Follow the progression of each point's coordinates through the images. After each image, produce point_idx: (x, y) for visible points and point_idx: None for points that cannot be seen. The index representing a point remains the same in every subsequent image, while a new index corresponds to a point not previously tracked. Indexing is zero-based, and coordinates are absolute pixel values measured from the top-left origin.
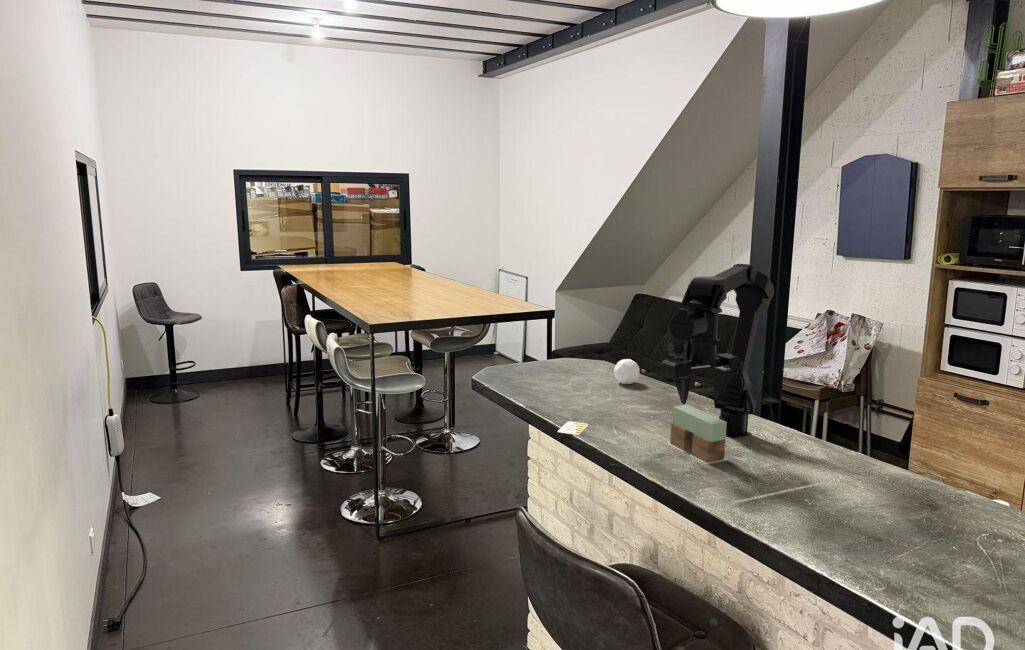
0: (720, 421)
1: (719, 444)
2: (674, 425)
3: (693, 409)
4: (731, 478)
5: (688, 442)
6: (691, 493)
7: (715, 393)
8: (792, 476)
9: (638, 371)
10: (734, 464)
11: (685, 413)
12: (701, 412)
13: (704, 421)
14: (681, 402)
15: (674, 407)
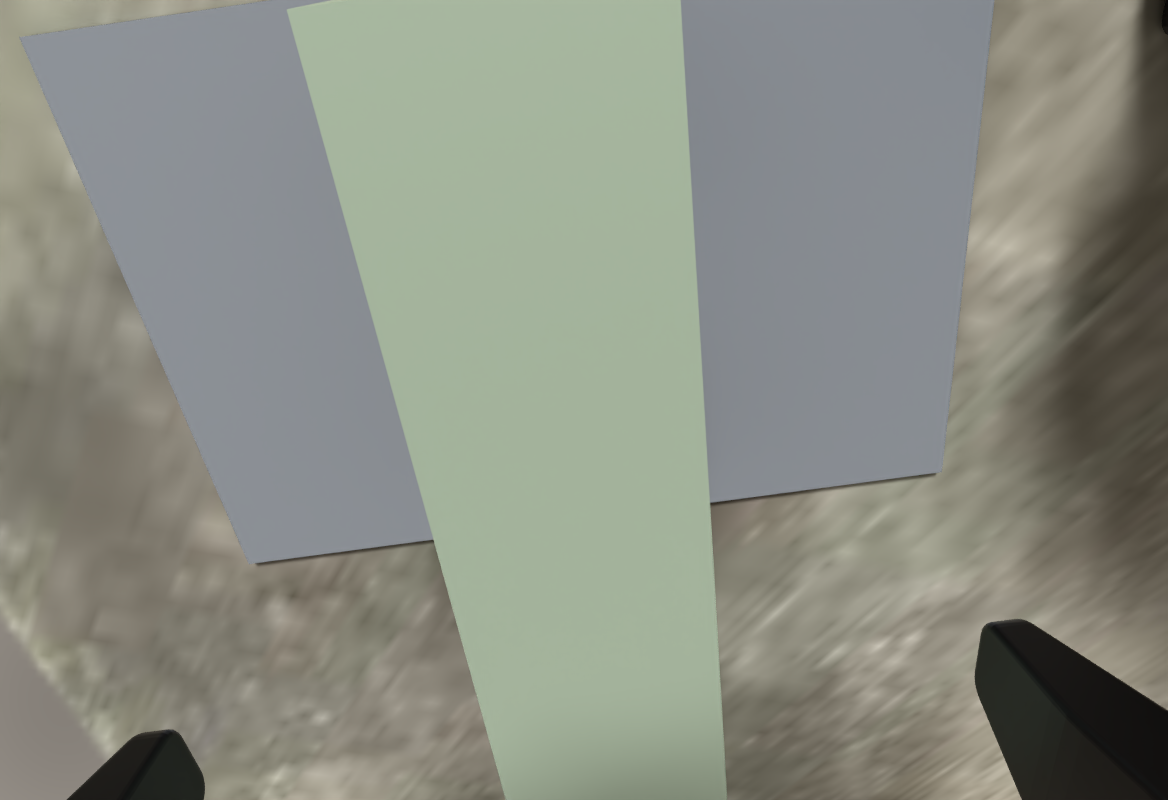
0: (671, 784)
1: None
2: None
3: (623, 302)
4: None
5: None
6: (209, 796)
7: (1047, 757)
8: (912, 737)
9: None
10: (712, 544)
11: (401, 396)
12: (660, 470)
13: (489, 739)
14: (131, 751)
15: (306, 65)
